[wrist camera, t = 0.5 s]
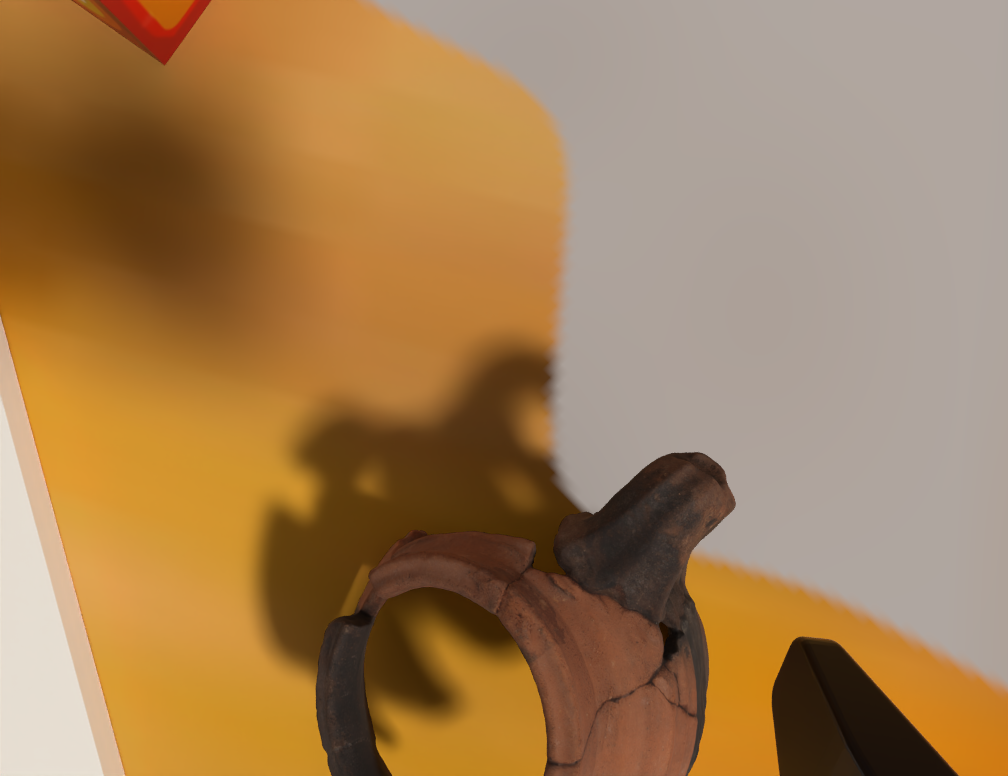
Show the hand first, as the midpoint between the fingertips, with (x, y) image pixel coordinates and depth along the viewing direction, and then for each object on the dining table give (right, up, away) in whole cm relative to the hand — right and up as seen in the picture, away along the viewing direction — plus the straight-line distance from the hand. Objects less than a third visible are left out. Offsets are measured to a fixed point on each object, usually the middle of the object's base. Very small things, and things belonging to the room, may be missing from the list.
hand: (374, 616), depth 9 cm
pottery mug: (+3, -4, +15) cm, 16 cm away
